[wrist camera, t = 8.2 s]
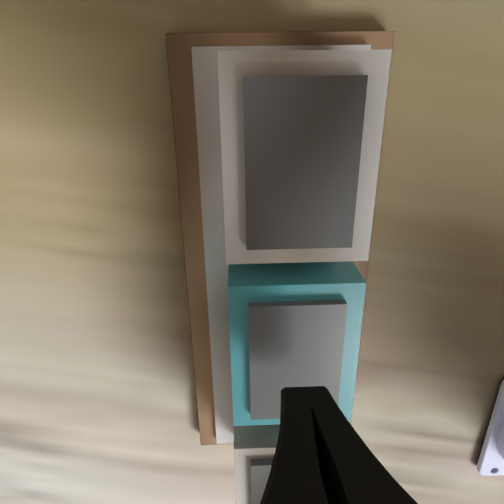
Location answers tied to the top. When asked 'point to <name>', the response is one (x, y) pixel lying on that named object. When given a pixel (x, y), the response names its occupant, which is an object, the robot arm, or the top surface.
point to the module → (292, 334)
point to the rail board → (269, 184)
